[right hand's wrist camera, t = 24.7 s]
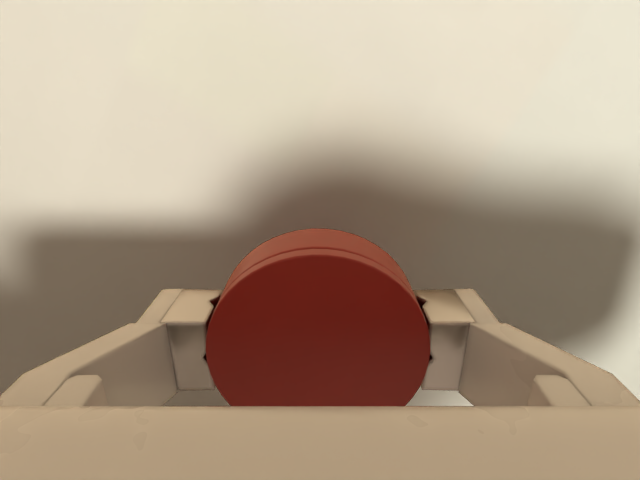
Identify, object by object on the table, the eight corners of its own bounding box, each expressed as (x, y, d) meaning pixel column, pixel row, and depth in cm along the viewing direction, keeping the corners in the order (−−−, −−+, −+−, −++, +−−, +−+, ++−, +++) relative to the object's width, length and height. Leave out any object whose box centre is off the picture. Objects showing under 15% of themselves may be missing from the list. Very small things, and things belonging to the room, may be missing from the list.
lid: (212, 375, 10) (194, 422, 9) (235, 207, 9) (219, 232, 7) (384, 404, 11) (394, 454, 9) (440, 249, 9) (463, 281, 8)
